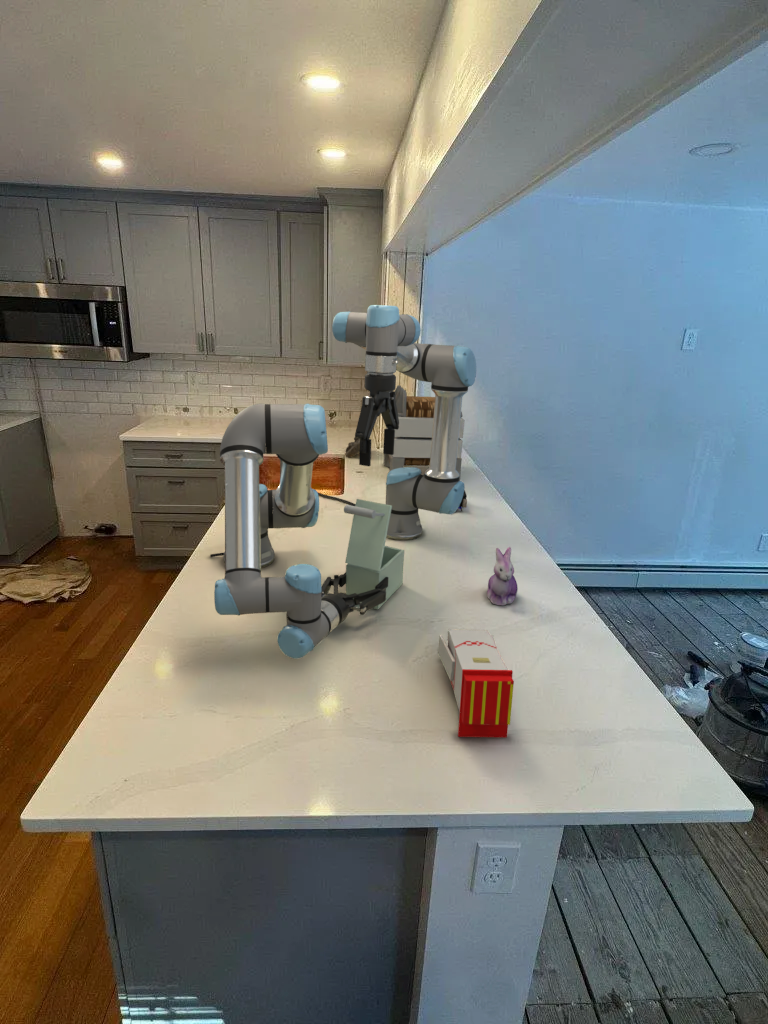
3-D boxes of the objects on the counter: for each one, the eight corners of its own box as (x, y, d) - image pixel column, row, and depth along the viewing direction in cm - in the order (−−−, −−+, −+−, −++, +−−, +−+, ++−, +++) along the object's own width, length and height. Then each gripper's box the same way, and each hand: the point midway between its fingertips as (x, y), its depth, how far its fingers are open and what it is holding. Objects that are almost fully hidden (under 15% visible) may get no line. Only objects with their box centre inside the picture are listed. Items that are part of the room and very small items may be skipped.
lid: (358, 499, 149) (342, 497, 140) (392, 505, 145) (377, 504, 136) (347, 562, 149) (330, 564, 141) (380, 570, 146) (365, 573, 137)
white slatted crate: (382, 463, 289) (386, 382, 275) (445, 464, 293) (451, 384, 279) (390, 482, 257) (394, 392, 243) (460, 483, 261) (468, 394, 247)
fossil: (345, 440, 315) (366, 425, 310) (356, 453, 318) (377, 439, 313) (338, 454, 296) (361, 438, 291) (350, 468, 298) (372, 452, 293)
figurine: (499, 610, 151) (506, 558, 146) (476, 593, 160) (482, 544, 155) (527, 603, 156) (534, 553, 151) (503, 587, 164) (509, 539, 159)
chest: (372, 576, 167) (373, 542, 163) (402, 583, 163) (404, 549, 159) (345, 600, 153) (346, 565, 149) (378, 609, 149) (379, 573, 145)
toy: (488, 613, 130) (523, 677, 101) (484, 667, 133) (517, 744, 104) (435, 612, 130) (455, 676, 101) (432, 666, 133) (451, 743, 103)
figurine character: (467, 516, 223) (461, 500, 237) (469, 499, 220) (463, 483, 233) (450, 516, 223) (446, 499, 236) (452, 498, 220) (447, 483, 233)
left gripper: (287, 616, 139) (333, 580, 158) (368, 640, 130) (406, 599, 149) (286, 588, 136) (333, 555, 155) (369, 611, 128) (408, 573, 147)
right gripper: (371, 379, 124) (368, 473, 131) (414, 370, 145) (409, 451, 152) (341, 376, 127) (339, 468, 134) (388, 368, 148) (384, 447, 155)
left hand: (369, 577), depth 152 cm, fingers closed on chest, 10 cm apart
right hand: (377, 459), depth 143 cm, fingers open, 13 cm apart
